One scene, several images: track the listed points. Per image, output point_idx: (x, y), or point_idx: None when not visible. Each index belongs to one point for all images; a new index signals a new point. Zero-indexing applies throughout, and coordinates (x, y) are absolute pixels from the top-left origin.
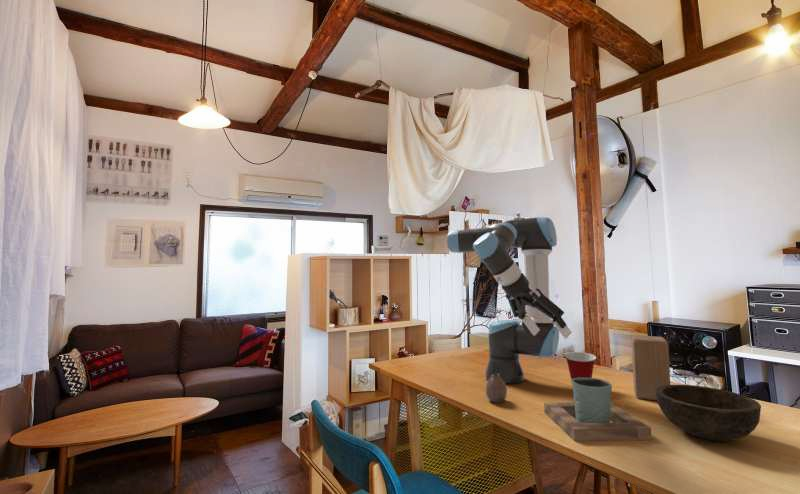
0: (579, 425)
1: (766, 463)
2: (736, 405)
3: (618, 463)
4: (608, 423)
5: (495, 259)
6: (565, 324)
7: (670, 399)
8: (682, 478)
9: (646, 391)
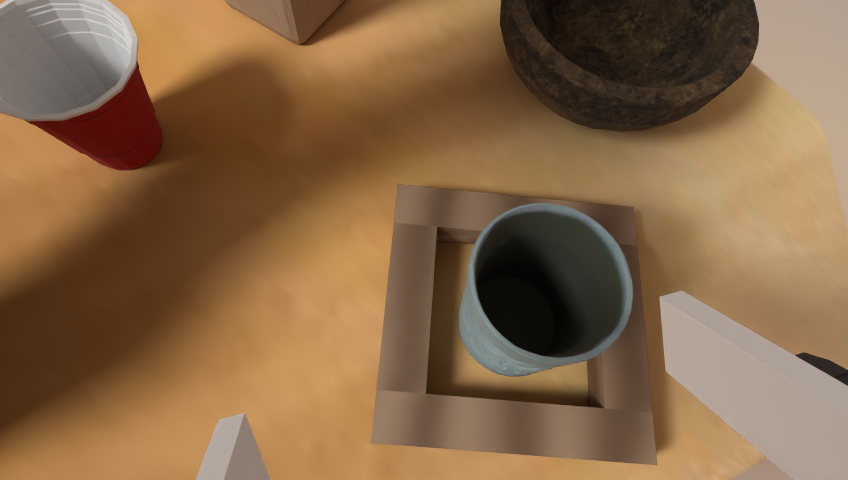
0: (625, 424)
1: None
2: None
3: None
4: None
5: None
6: (824, 369)
7: (665, 101)
8: (827, 300)
9: (316, 9)
